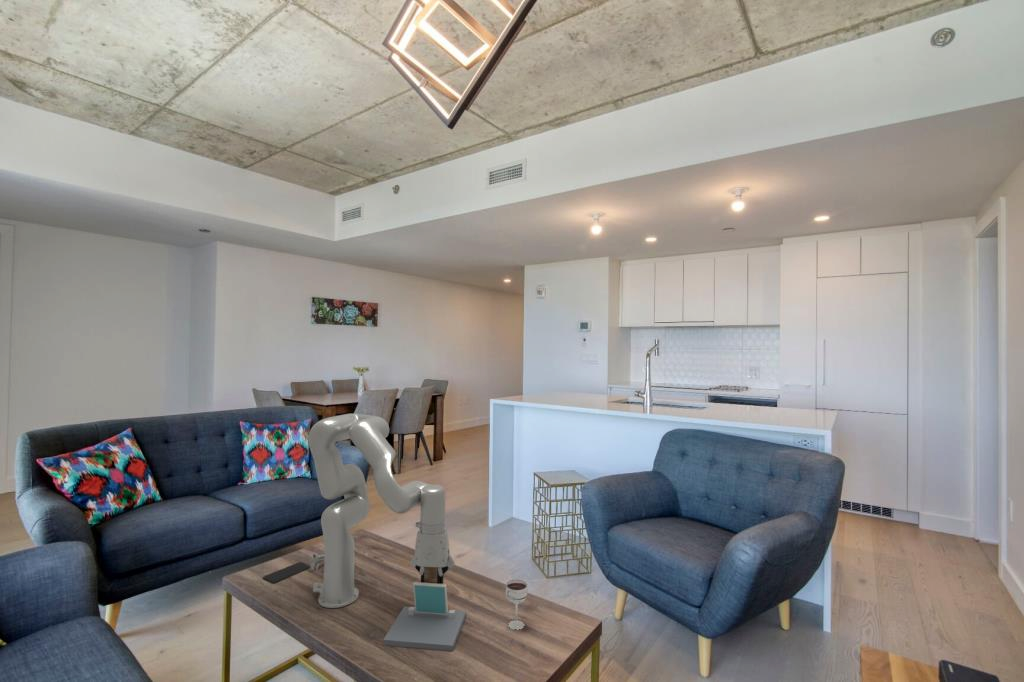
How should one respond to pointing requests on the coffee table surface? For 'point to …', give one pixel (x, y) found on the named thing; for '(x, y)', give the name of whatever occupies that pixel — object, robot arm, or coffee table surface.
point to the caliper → (317, 560)
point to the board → (425, 629)
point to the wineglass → (516, 598)
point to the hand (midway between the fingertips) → (432, 586)
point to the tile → (430, 598)
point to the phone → (286, 572)
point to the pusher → (430, 574)
